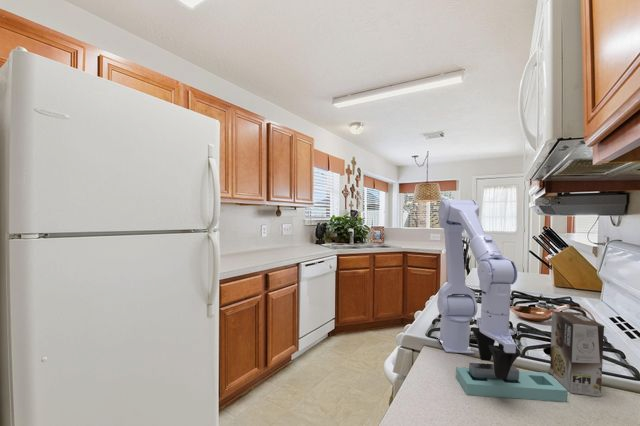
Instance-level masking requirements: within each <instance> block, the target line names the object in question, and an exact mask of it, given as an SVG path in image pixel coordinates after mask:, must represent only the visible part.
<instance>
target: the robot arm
mask: <svg viewBox="0 0 640 426" xmlns="http://www.w3.org/2000/svg"><path fill="white" fill-rule="evenodd" d="M437 210H438V211H437V212H438V213H437V214H438V223H439V228H441V229H443V231H444V232H443V233H444V245H445V265H446V282H447V283H446V284H444V285H443V286H442V287H440V288H439V290H438V293H437V302H436V303H437V311H438V313H439V314H440V316H441V317H440V321H439V322H440V323H439V325H440V326H439V328H440V329H439V336H436V339H437V338H438V339H440V340H443V344H442V345H441V347H442V348H443V350H444V351H445V352H446V353H458V354H471V355H472V354H473V355H474V354H475V351H474V350H473V351H474V352H473V351H468V350H467V348H468V347H469V346H470V331H472V333H473V335H474V338H475V340H476V341H475V342H476V344H477V348H478V354H479V358H480V360H481V361H486V362H490V361H491V360H493V364H494V372H495V376H496V378H498V379H507V376H508V374H509V371H510V368H511V366H512V365H514V362H515V361H516V360H517V358H518V357H519V356H520V350H518V349H517V344H516V343H515V342H514V340H513V338H512V336H514V335H515V332H514V330H512V329H511V328H510V314H511V313H510V312H511V311H510V310H511V289H512V285H514V284H515V283H516V282H517V280H518V268H517V266H516V263H515V261H514V260H512V259H511V258H509V257H507V255H504V254H503V253H502V251H501V250H500V248H499V247H498V244H497V243H496V241H495V240H494V238H493V236H491V235H488V234H486V232H485V231H484V228H483V225H482V223H481V220H480V219H479V216H480V206H479V203H478V202H477V201H476V200H475V199H447V198H443V199H442V200H441V202H439V206H438V208H437ZM463 231H465V232H466V234H467V236H468V237H469V238H470V241H469V245H468V246H469V249H470V250H471V253H472V255H473V256H474V258H475V261H476V264H477V265H478V266H477V269H476V270H477V271H476V272H477V277H478V281H479V282H478V283H479V284H478V285H479V289H480V290H481V299H480V300H481V301H480V302H481V304H480V305H481V306H480V308H481V309H480V317H476V326H477V327H475V328H474V327H473V328H471V327H470V326H471V325H470V324H471V323H470V322H471V321H473V318H475V316H476V315H477V314H478V313H477V312H478V303H477V300H476V296H475V295H476V294H475V292H474V290H472V289H471V288H470V287H469V286H467V285H466V276H465V275H466V274H465V259H464V247H463V245H464V243H463ZM470 328H471V330H470ZM438 339H437V340H438ZM495 343H498V345H495Z"/></svg>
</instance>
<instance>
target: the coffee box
mask: <svg viewBox="0 0 640 426" xmlns="http://www.w3.org/2000/svg"><path fill="white" fill-rule="evenodd" d="M604 335H605V325H603V324H601V323H599V322H597V321H595V320H594V319H591V318H590V317H587V316H586V315H584V314H583V313H580V312H574V311H573V312H572V311H554V310H552V311H551V332H550V359H549V360H550V363H549V365H550V367H549V373H550V374H551V375H552V377H554V379H555V380H556V381H557V382H558V383H559V384H561V385H562V386H563V387H564V388H565V389H566V390H568V391H569V392H568V393H571V394H578V395H585V396H593V397H601V395H602V380H603V379H602V377H603V361H604V360H603V358H604V357H603V356H604V355H603V354H604V339H605V338H604V337H605V336H604Z"/></svg>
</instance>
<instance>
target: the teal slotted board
mask: <svg viewBox="0 0 640 426" xmlns="http://www.w3.org/2000/svg"><path fill="white" fill-rule="evenodd" d="M455 378H456V380H457V382H458V383H459V384H460V386H461V388H462V389H463V390H464V392H465V394H466V395H467V396H478V397H479V396H480V397H481V396H482V397H494V398H508V399H520V400H521V399H523V400H535V401H549V402H564V403H568V397H569V396H568V393H569V392H568V390H567V389H566V388H565V387H564V386H563V385H562V384H561V383H560V382H559V381H558V380H557V379H556V378H553V376H551V375H550V374H549V373H548V372H539V371H538V372H537V371H524V370H519V380H517V382H516V383H506V382H504V381H503V380H502V379H498V378H487V377H485V378H484V381H476V380H472V378H471V373H470V372H469V367H462V366H461V367H459V366H458V367H457V366H456V368H455Z"/></svg>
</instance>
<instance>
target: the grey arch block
mask: <svg viewBox="0 0 640 426" xmlns="http://www.w3.org/2000/svg"><path fill="white" fill-rule="evenodd" d="M468 364H469V365H468V368H469V372H470V373H471V378H472V380H476V381H484V378H485V377H487V378H496V376H495V372H494V363H481V362H480V363H477V362H468ZM519 371H520V370H519V369H518V368H517V367H516V366H515V365H514V364H512V366H511V368H510V371H509V374H508V376H507V379H502V380H503V381H504V382H506V383H516V382H517V380H519Z"/></svg>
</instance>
